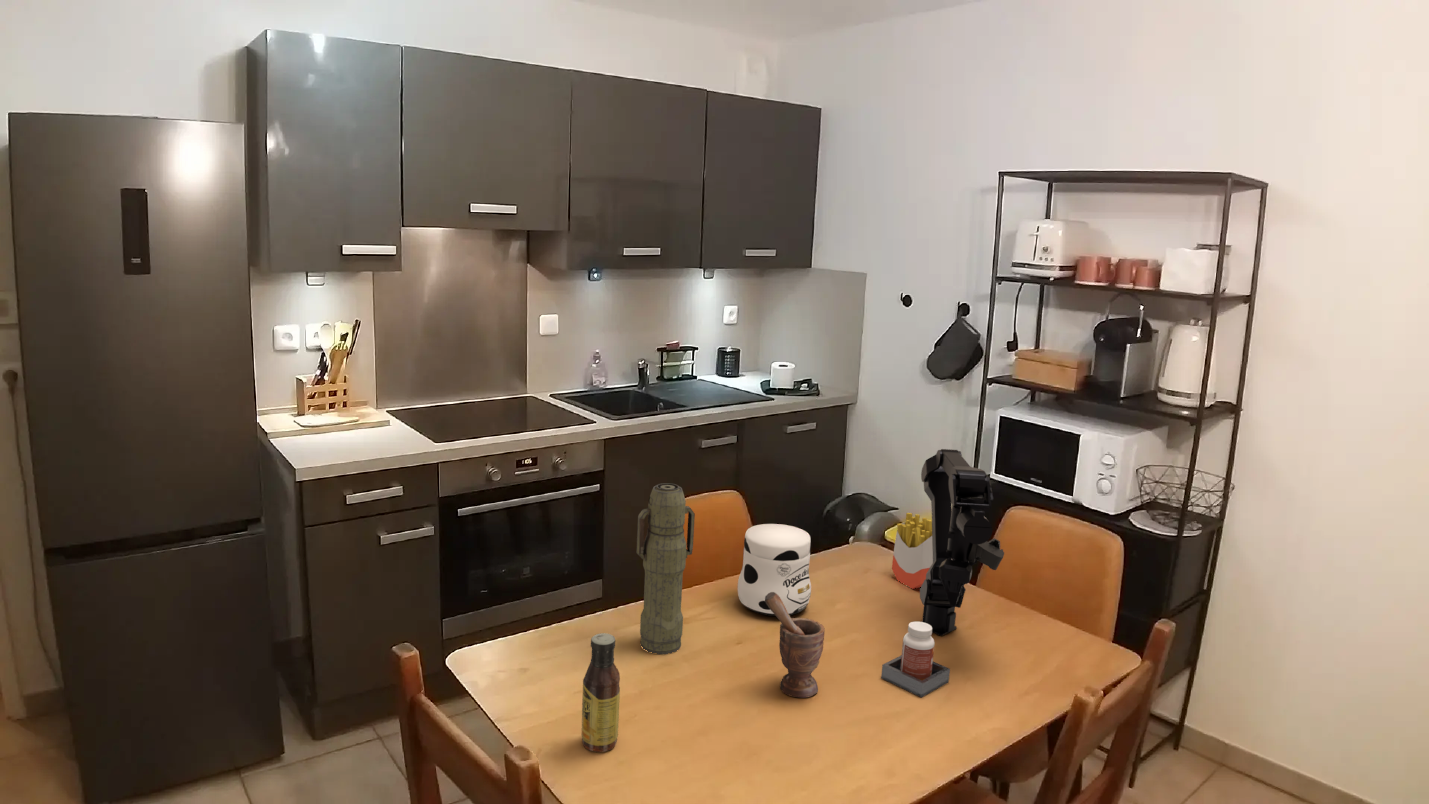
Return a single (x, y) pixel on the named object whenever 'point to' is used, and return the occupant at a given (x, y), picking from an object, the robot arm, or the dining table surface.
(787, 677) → the mortar and pestle
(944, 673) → the gray open box
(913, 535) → the french fries container
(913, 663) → the pill bottle
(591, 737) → the sauce bottle
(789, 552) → the milk container
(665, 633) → the thermos
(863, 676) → the dining table surface
